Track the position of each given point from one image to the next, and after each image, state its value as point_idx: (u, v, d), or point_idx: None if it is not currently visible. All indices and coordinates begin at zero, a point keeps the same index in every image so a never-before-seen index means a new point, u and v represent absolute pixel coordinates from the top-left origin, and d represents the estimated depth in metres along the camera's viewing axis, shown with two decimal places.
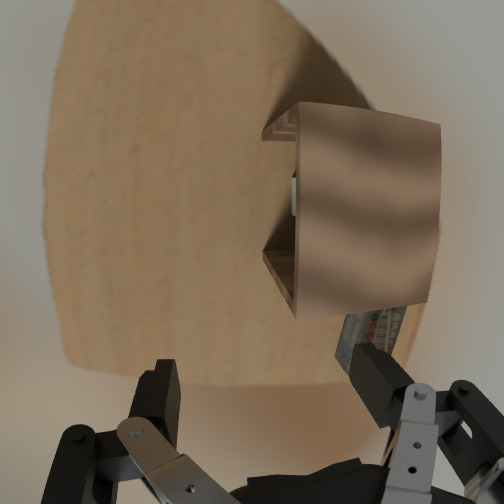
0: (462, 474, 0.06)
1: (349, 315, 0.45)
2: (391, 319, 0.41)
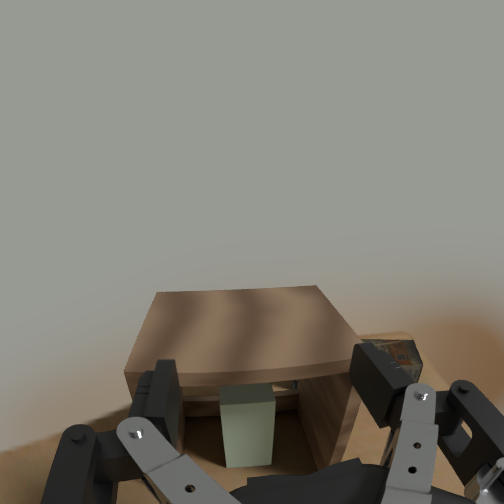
0: (462, 474, 0.06)
1: None
2: None
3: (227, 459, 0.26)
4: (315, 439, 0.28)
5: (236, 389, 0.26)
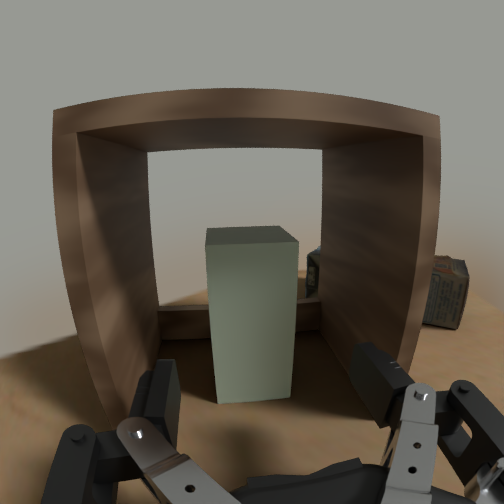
0: (462, 474, 0.06)
1: None
2: None
3: (218, 383, 0.18)
4: None
5: (233, 236, 0.18)
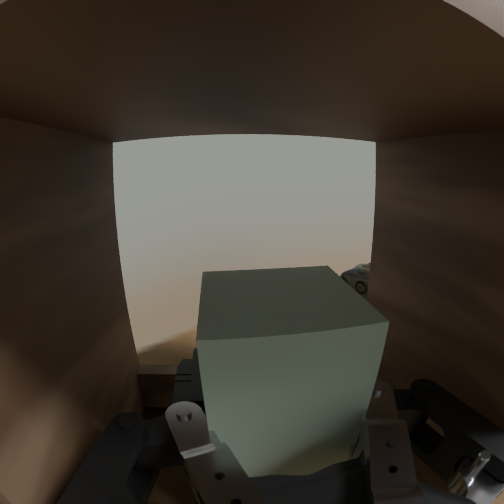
0: (439, 470, 0.07)
1: None
2: None
3: None
4: None
5: (254, 300, 0.09)
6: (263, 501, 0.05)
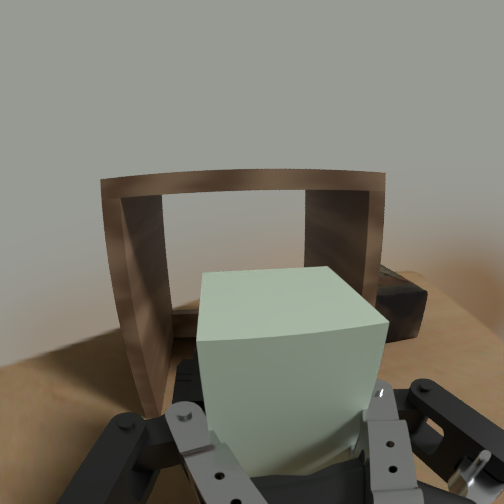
0: (439, 470, 0.07)
1: None
2: None
3: None
4: None
5: (254, 301, 0.09)
6: (263, 501, 0.05)
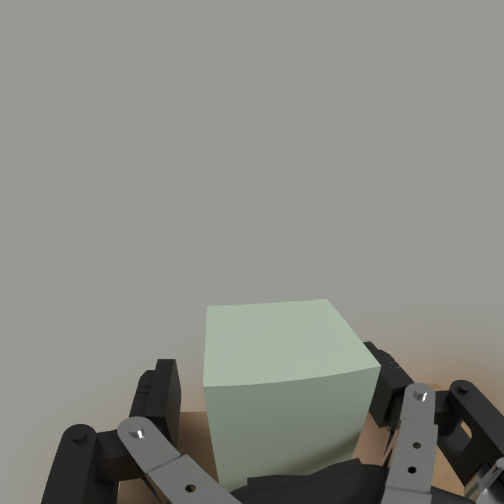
0: (462, 474, 0.06)
1: None
2: None
3: None
4: None
5: (256, 342, 0.09)
6: None
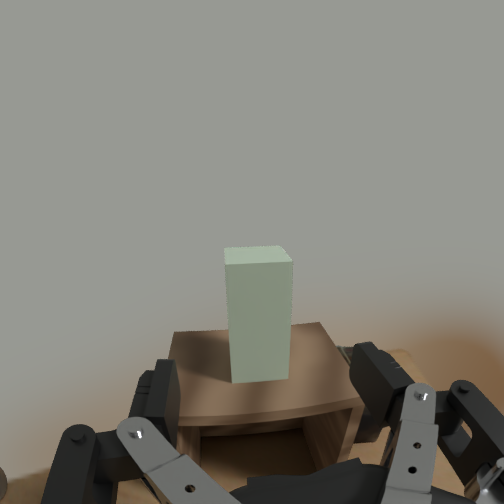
0: (462, 474, 0.06)
1: None
2: None
3: (233, 366, 0.24)
4: (318, 457, 0.30)
5: (245, 255, 0.24)
6: None
